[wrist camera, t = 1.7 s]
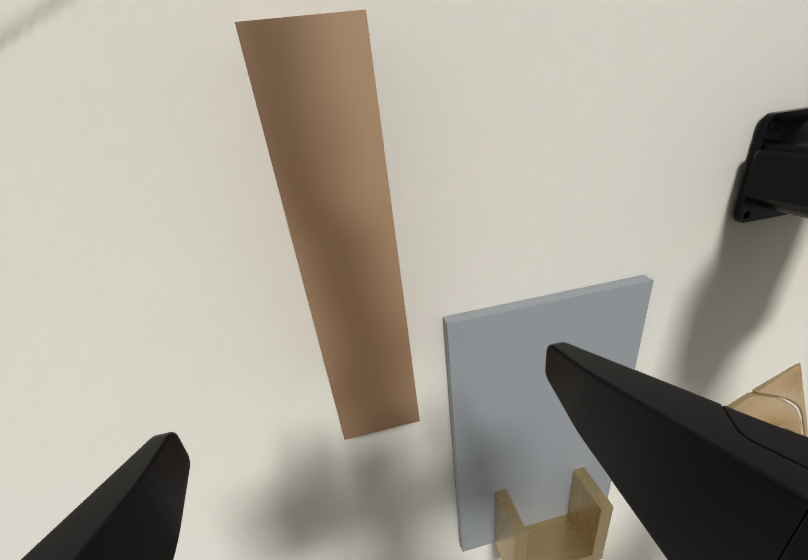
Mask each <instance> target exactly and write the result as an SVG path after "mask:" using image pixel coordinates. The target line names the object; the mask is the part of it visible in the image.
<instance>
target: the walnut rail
mask: <svg viewBox="0 0 808 560" xmlns="http://www.w3.org/2000/svg"><path fill="white" fill-rule="evenodd" d="M235 25H236V29H237V33H238V36H239V40H240V44H241V48H242V52H243V55H244V59H245V63H246V67H247V71H248V74H249V78H250V82H251V86H252V90H253V93H254V97H255V101H256V105H257V109H258V112H259V116H260V120H261V124H262V128H263V131H264V135H265V139H266V143H267V147H268V150H269V154H270V158H271V162H272V166H273V169H274V173H275V177H276V181H277V185H278V188H279V192H280V196H281V200H282V204H283V207H284V211H285V215H286V219H287V223H288V226H289V230H290V234H291V238H292V242H293V245H294V249H295V253H296V257H297V261H298V264H299V268H300V272H301V276H302V280H303V283H304V287H305V291H306V295H307V299H308V302H309V306H310V310H311V314H312V318H313V321H314V325H315V329H316V333H317V337H318V340H319V344H320V348H321V352H322V356H323V359H324V363H325V367H326V371H327V375H328V378H329V382H330V386H331V390H332V394H333V397H334V401H335V405H336V409H337V413H338V416H339V420H340V424H341V428H342V432H343V436H344V439H345V440H346V439H350V438H354V437H358V436H362V435H366V434H370V433H374V432H378V431H382V430H386V429H390V428H394V427H398V426H402V425H406V424H410V423H414V422H418V421H420V420H419V412H418V405H417V397H416V389H415V382H414V374H413V367H412V359H411V351H410V344H409V336H408V328H407V321H406V313H405V306H404V298H403V290H402V283H401V275H400V267H399V260H398V252H397V244H396V237H395V229H394V222H393V214H392V206H391V199H390V191H389V183H388V176H387V168H386V161H385V153H384V145H383V138H382V130H381V122H380V115H379V107H378V100H377V92H376V84H375V77H374V69H373V61H372V54H371V46H370V39H369V31H368V23H367V16H366V10H357V11H347V12H336V13H326V14H315V15H305V16H294V17H283V18H273V19H262V20H252V21H241V22H235Z"/></svg>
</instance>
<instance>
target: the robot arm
mask: <svg viewBox="0 0 808 560" xmlns="http://www.w3.org/2000/svg"><path fill="white" fill-rule="evenodd" d="M786 214H791V215H796V216H800V217H804V218H808V107H806V108H799V109H793V110H786V111H779V112H773V113H769V114H767V115H766V116H765V117H764V118H763V119H762V121H761V124H760V127H759V130H758V134H757V137H756V141H755V144H754V148H753V151H752V154H751V158H750V161H749V165H748V168H747V172H746V175H745V178H744V182H743V185H742V189H741V192H740V195H739V199H738V202H737V206H736V209H735V213H734V220H735V221H738V222H742V223H745V222H751V221H756V220H761V219H766V218H771V217H776V216H781V215H786ZM545 373H546V377H547V379H548V381H549V383H550V385H551V386H552V388H553V390H554V392H555V394H556V395H557V397H558V399H559V401H560V402H561V404H562V406H563V408H564V410H565V411H566V413H567V415H568V417H569V418H570V420H571V422H572V424H573V425H574V427H575V429H576V430H577V432H578V433H579V435H580V436H581V438H582V439H583V441H584V442H585V444H586V445H587V446H588V448H589V449H590V451H591V452H592V453H593V455H594V456H595V458H596V459H597V461H598V462H599V463H600V465H601V466H602V468H603V469H604V470H605V472H606V473H607V475H608V476H609V477H610V479H611V480H612V482H613V483H614V485H615V486H616V487H617V489H618V490H619V492H620V493H621V494H622V496H623V497H624V499H625V500H626V502H627V503H628V504H629V506H630V507H631V509H632V510H633V511H634V513H635V514H636V516H637V517H638V518H639V520H640V521H641V523H642V524H643V526H644V527H645V528H646V530H647V531H648V533H649V534H650V535H651V537H652V538H653V540H654V541H655V543H656V544H657V545H658V547H659V548H660V550H661V551H662V552H663V554H664V555H665V557H666V558H667V560H808V437H807V436H804V435H801V434H798V433H795V432H792V431H790V430H787V429H784V428H781V427H778V426H776V425H773V424H770V423H768V422H765V421H763V420H760V419H757V418H755V417H752V416H750V415H747V414H744V413H742V412H739V411H737V410H734V409H732V408H729V407H727V406H722V405H721V404H719V403H717V402H714V401H712V400H709V399H707V398H704V397H702V396H699V395H697V394H694V393H692V392H689V391H687V390H684V389H682V388H679V387H677V386H674V385H672V384H669V383H667V382H664V381H662V380H659V379H657V378H654V377H651V376H649V375H646V374H644V373H641V372H639V371H636V370H634V369H631V368H629V367H626V366H624V365H621V364H619V363H616V362H614V361H611V360H609V359H606V358H604V357H601V356H599V355H596V354H594V353H591V352H589V351H586V350H584V349H581V348H579V347H576V346H574V345H571V344H569V343H566V342H558V343H554V344H550V345H549V346H548V347H547V350H546V363H545ZM189 470H190V459H189V456H188V454H187V452H186V450H185V448H184V446H183V444H182V442H181V441H180V439H179V437H178V435H177V434H176V433H174V432H168V433H164V434H160V435H156V436H154V437H152V438H151V439H150V440H148V441H147V442H146V443H145V444H144V445H143V446H142V447H141V448H140V449H139V450H138V451H137V452H136V453H135V454H133V455H132V456H131V457H130V458H129V459H128V460H127V461H126V462H125V463H124V464H123V465H122V466H121V467H120V468H119V469H117V470H116V471H115V472H114V473H113V474H112V475H111V476H110V477H109V478H108V479H107V480H106V481H105V482H104V483H102V484H101V485H100V486H99V487H98V488H97V489H96V490H95V491H94V492H93V493H92V494H91V495H90V496H89V497H87V498H86V499H85V500H84V501H83V502H82V503H81V504H80V505H79V506H78V507H77V508H76V509H75V510H74V511H72V512H71V513H70V514H69V515H68V516H67V517H66V518H65V519H64V520H63V521H62V522H61V523H60V524H59V525H57V526H56V527H55V528H54V529H53V530H52V531H51V532H50V533H49V534H48V535H47V536H46V537H45V538H44V539H42V540H41V541H40V542H39V543H38V544H37V545H36V546H35V547H34V548H33V549H32V550H31V551H30V552H29V553H27V554H26V555H25V556H24V557H23V558H22V559H21V560H173V559H174V555H175V551H176V547H177V543H178V538H179V533H180V528H181V521H182V515H183V508H184V502H185V495H186V489H187V483H188V476H189Z"/></svg>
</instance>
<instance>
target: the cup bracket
mask: <svg viewBox="0 0 808 560" xmlns="http://www.w3.org/2000/svg"><path fill="white" fill-rule="evenodd" d="M612 510H613V505H612V504H611V503H610V501H609V500H608V499H607V497H606V496H605V495H604V493H603V492H602V491H601V489H600V488H599V486H598V485H597V484H596V482H595V481H594V480H593V478H592V477H591V476H590V474H589V473H588V471H587V470H586V469H585V467H582V468H578V469H575V470H573V475H572V483H571V490H570V497H569V504H568V511H567V514H565V515H562V516H558V517H555V518H552V519H548V520H545V521H542V522H538V523H535V524H532V525H528V526H524V524H523V522H522V520H521V518H520V516H519V514H518V512H517V510H516V508H515V506H514V504H513V502H512V500H511V498H510V496H509V494H508V492H507V489H504V490H500V491H497V492H495V544H496V546H497V549H498V551H499V554H500V556H501V559H502V560H598V559H601V558H602V555H603V550H604V546H605V542H606V537H607V533H608V528H609V524H610V519H611V515H612Z"/></svg>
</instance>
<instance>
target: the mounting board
mask: <svg viewBox="0 0 808 560" xmlns="http://www.w3.org/2000/svg"><path fill="white" fill-rule="evenodd" d="M652 285H653V280H652V279H650V278H648V277H646V276H645V275H642V276H638V277H633V278H628V279H623V280H618V281H614V282H609V283H604V284H599V285H595V286H590V287H585V288H580V289H576V290H571V291H566V292H561V293H556V294H552V295H547V296H542V297H537V298H533V299H528V300H523V301H518V302H514V303H509V304H504V305H499V306H494V307H490V308H485V309H480V310H475V311H471V312H466V313H461V314H456V315H452V316H447V317H443V322H444V335H445V349H446V362H447V376H448V389H449V403H450V416H451V430H452V444H453V457H454V471H455V484H456V498H457V511H458V525H459V538H460V544H461V548H462V551H463V552H464V551H467V550H470V549H473V548H477V547H480V546H483V545H487V544H490V543H493V542H495V492H497V491H500V490H504V489H507V492H508V494H509V496H510V498H511V500H512V502H513V504H514V506H515V508H516V510H517V512H518V514H519V516H520V518H521V520H522V522H523V524H524V526H528V525H532V524H535V523H538V522H542V521H545V520H548V519H552V518H555V517H558V516H562V515H565V514H567V511H568V504H569V497H570V490H571V483H572V475H573V470H575V469H578V468H582V467H585V469H586V470H587V471H588V473H589V474H590V476H591V477H592V478H593V480H594V481H595V482H596V484H597V485H598V486H599V488H600V489H601V491H602V492H603V493H604V495H605V496H606V497H607V498H608V494H609V489H610V484H611V479H610V477H609V476H608V475H607V473H606V472H605V470H604V469H603V468H602V466H601V465H600V463H599V462H598V461H597V459H596V458H595V456H594V455H593V453H592V452H591V451H590V449H589V448H588V446H587V445H586V444H585V442H584V441H583V439H582V438H581V436H580V435H579V433H578V432H577V430H576V429H575V427H574V425H573V424H572V422H571V420H570V418H569V417H568V415H567V413H566V411H565V410H564V408H563V406H562V404H561V402H560V401H559V399H558V397H557V395H556V394H555V392H554V390H553V388H552V386H551V385H550V383H549V381H548V379H547V377H546V373H545V363H546V350H547V347H548V346H549V345H550V344H554V343H558V342H566V343H569V344H571V345H574V346H576V347H579V348H581V349H584V350H586V351H589V352H591V353H594V354H596V355H599V356H601V357H604V358H606V359H609V360H611V361H614V362H616V363H619V364H621V365H624V366H626V367H629V368H631V369H634V370H635V365H636V361H637V356H638V351H639V346H640V342H641V337H642V332H643V327H644V323H645V318H646V313H647V308H648V304H649V299H650V294H651V289H652Z"/></svg>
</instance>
